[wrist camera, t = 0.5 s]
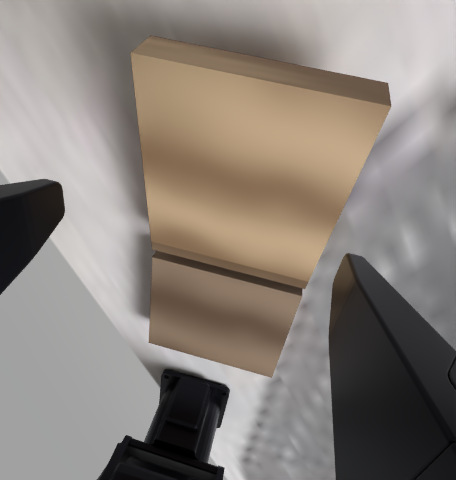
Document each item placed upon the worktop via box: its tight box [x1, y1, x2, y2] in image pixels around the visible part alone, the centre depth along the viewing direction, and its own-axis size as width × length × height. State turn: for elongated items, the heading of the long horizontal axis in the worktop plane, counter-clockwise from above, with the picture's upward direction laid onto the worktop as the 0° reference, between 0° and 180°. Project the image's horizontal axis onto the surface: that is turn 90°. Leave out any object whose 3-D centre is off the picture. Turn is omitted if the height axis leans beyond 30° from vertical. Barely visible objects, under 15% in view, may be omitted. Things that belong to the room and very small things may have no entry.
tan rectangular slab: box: [130, 36, 391, 289], centre depth 18 cm, size 12×10×2 cm
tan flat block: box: [149, 251, 302, 378], centre depth 26 cm, size 9×10×2 cm
